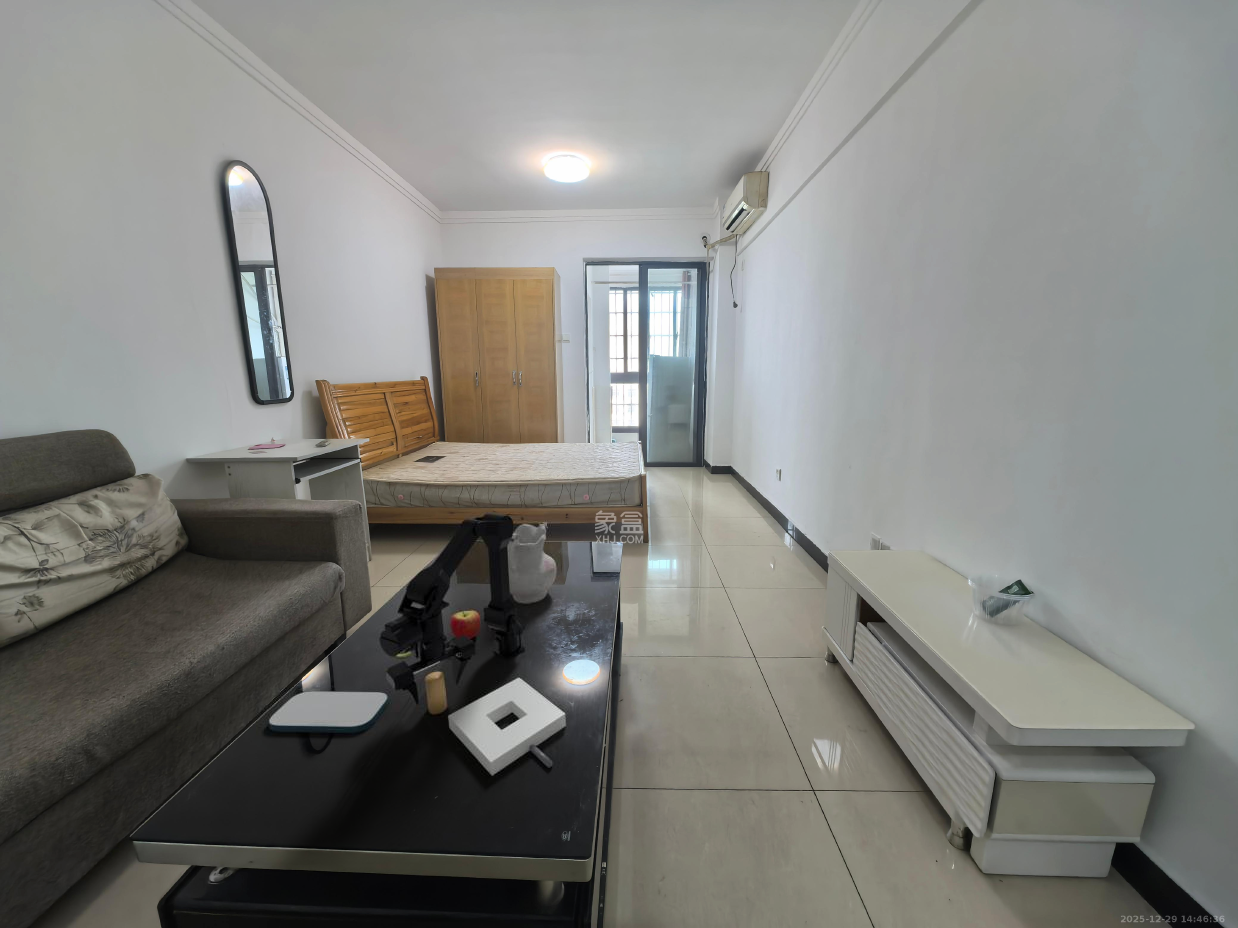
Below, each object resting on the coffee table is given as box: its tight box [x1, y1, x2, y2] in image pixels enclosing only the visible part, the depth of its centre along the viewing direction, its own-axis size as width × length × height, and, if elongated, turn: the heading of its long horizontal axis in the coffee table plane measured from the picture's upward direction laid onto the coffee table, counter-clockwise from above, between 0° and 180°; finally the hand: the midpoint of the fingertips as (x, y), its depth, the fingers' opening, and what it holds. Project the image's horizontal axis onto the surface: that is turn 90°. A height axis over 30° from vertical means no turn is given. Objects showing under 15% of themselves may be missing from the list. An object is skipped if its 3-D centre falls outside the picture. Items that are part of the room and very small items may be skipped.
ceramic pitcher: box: [507, 523, 557, 605], centre depth 160 cm, size 22×20×25 cm
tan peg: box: [424, 671, 448, 715], centre depth 109 cm, size 4×4×8 cm
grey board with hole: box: [447, 677, 567, 776], centre depth 100 cm, size 18×24×3 cm
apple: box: [449, 608, 481, 640], centre depth 138 cm, size 8×8×10 cm
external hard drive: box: [268, 690, 390, 734], centre depth 108 cm, size 24×12×2 cm, turn 87°
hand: (436, 693), depth 109 cm, fingers open, 9 cm apart
